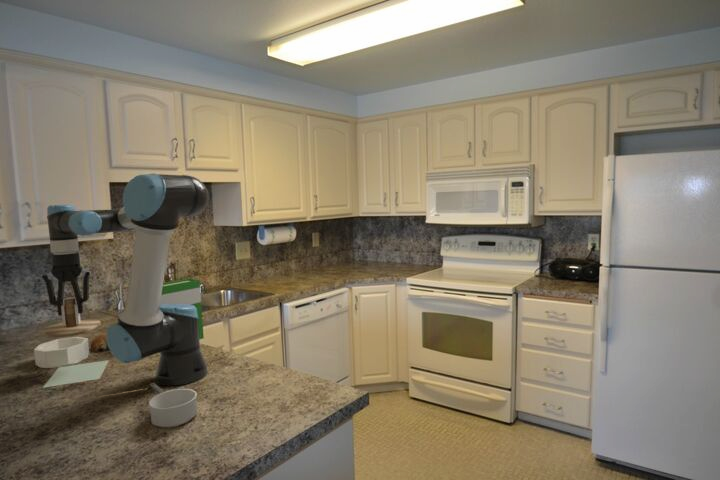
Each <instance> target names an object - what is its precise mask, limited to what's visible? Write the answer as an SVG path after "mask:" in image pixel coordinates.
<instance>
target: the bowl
mask: <svg viewBox="0 0 720 480" xmlns="http://www.w3.org/2000/svg"><path fill="white" fill-rule="evenodd" d="M33 351H34V360H35V361H34V363H35V366H38V367H39V368H42V369H54V368H55V369H56V368H59V367H64V366H71V365H75V364H77V363H80V362H83V361H84V360H86V359H87V358H88V357H89V354H90V347H89V338H87V337H82V336H70V337H62V338H58V339H53V340H50V341H46V342H43V343H40V344H38V346H36V347H35V348H34V349H33Z"/></svg>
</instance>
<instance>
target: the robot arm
mask: <svg viewBox="0 0 720 480" xmlns="http://www.w3.org/2000/svg"><path fill="white" fill-rule="evenodd" d="M209 196H210V195H209V191H208V188H207V186H206V185H205V184H204V183H203V181H201V180H200V179H199V178H196V177H195V176H192V175H188V174H187V175H185V174H182V175H181V174H164V173H161V174H158V173H148V174H139V175H136V176H134V177H133V178H131V179H130V180H129V181H128V182H127V184H126V186H125V188H124V190H123V194H122V206H121V207H119V208H111V209H93V210H92V209H90V210H89V209H88V210H87V209H86V210H85V209H83V210H82V209H81V210H76V207H75V206H74V205H73V204H53V205H48V206H47V209H46V210H47V211H46V212H47V213H46V215H47V216H46V219H47V226H48V234H49V243H50V245H49V247H50V248H49V249H50V253H51V255H50V256H51V266H52V268H51V270H50V272H48V273H45V274H43V275H42V279H43V282H44V283H45V285H46V291H47V296H48V300H49V304H50V305H51V306H52V305H53V306H56V307H57V315H58V316H61V319H62V322H63V326H66V325H67V324H66V314H65V303H64V295H65V284H66V283H67V282H70V283H71V287H72V291H73V295H74V297H75V298H74V299H75V302H76V304H75V305H74V306H75V317H76V324H80V322H81V320H82V319H81V314H83V312H84V305H83V304H84V303H85V302H87V301H88V300H89V298H90V294H89V293H90V276H91V275H92V271H91V270H85V269H83V267H82V266H81V261H80V259H81V258H80V253H79V250H80V249H79V248H80V247H79V238H78V237H79V236H81V237H83V236H84V237H85V236H91V235H97V234H108V233H118V232H119V233H120V232H124V233H125V232H132V231H135V235H134V242H133V249H132V250H133V251H132V255H131V258H132V259H131V263H130V264H131V265H130V272H129V277H128V278H129V280H128V288H127V295H126V303H125V307H124V308H122V309H121V310H119V312H118V315H117V322H116V323H112V324H110V325H109V326H108V327H107V329H106V332H105V333H106V340H107V344H108V347H109V349H110V350H109V352H110V353H111V355H112V356H113V357H114V358H115V359H116V360H117V361H118V362H120V363H123V364H130V363H134V362H139V361H141V360H143V359H145V358H148V357H150V356H153V355H157V354H158V353H159V354H160V356H159V361H158V364H157V368H156V371H155V380H156V382H157V384H160V385H162V386H168V387H169V386H181V385H186V384H190V383H194V382H196V381H199V380H201V379H202V378H204V377H205V376H206V375H208V365H207V362H206V360H205V357H204V355H203V353H202V351H201V345H200V344H201V343H200V339H199V326H198V315H197V309H196V307H195V306H193V305H190V304H165V305H160V300H161V294H162V287H163V283H164V279H165V274H166V267H167V261H168V256H169V255H168V253H169V247H170V241H171V235H172V233H173V232H174V231H176V230H177V229H178V227H179V223H180V222H179V221H180V218H187V217H188V218H190V217H194V216H197V215H199V214H201V213H202V212H204V210H206V208H207V206H208V205H209V201H210V198H209ZM80 274H81V276H82V278H83V279H82V283H83V284H82V294H81V290H80V285H79V280H78V277H79V276H80ZM53 277H54V278H56V279H57V297H56V293H55V288H54V283H53Z"/></svg>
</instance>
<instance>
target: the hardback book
mask: <svg viewBox="0 0 720 480" xmlns="http://www.w3.org/2000/svg"><path fill="white" fill-rule="evenodd" d="M201 296H202V295H201V282H200V279H195V278H184V279H179V280H174V281H168V282H163V287H162V294H161V300H160V305H165V304H190V305H193V306H195V307H196V309H197V315H198V326H199V340H203V339H204V324H203V323H204V322H203V311H202V310H203V307H202V297H201Z"/></svg>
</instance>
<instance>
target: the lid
mask: <svg viewBox="0 0 720 480" xmlns="http://www.w3.org/2000/svg"><path fill="white" fill-rule="evenodd" d="M63 302H64V303H63V304H65V314H66V324H67V325H66V326H63V321H62V322H60V323H59V322H58V323H55V324H52V325H48V326H47V327H44V328H43V329H42V330H41V331H42V336H43V337H46V338H68V337H75V336H78V335H82V334H86V333H90V332H93V331H95V330H98V329H100V328H101V326H102V325H101V324H102V323H101V320H99V319H95V318H94V319H93V318H92V319H90V318H87V319H85V318H84V319H80V320H81V322H80V324H76V317H75V306H74V305H75V304H76V303H77V301H76V298H67V299H63Z"/></svg>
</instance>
